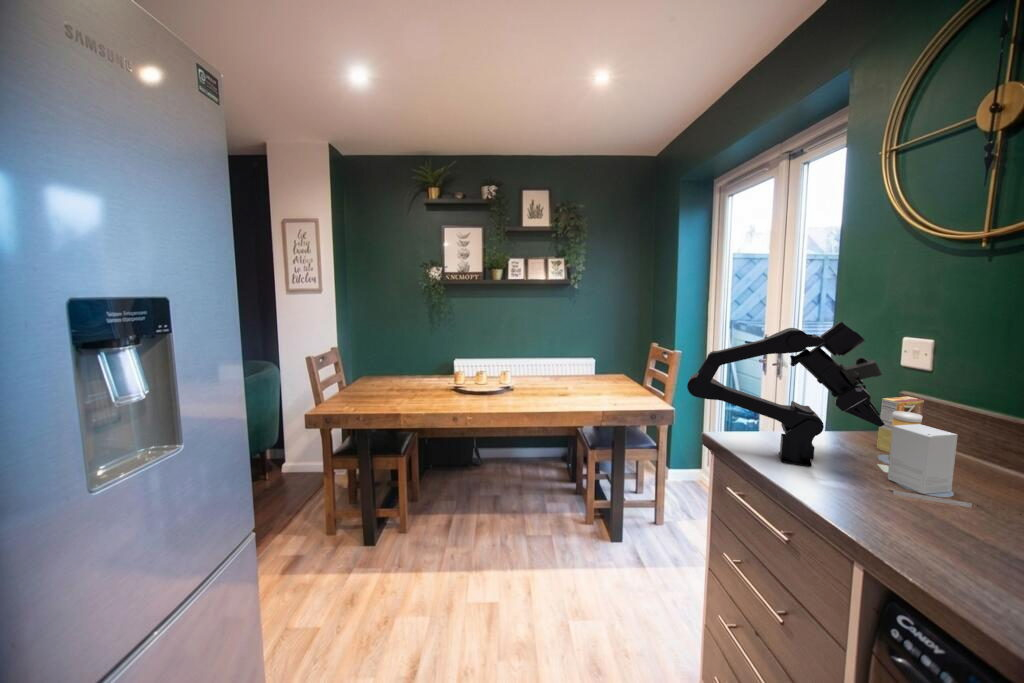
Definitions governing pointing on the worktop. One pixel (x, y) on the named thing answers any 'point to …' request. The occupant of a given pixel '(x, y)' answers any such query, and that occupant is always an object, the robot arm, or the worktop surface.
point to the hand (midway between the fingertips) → (880, 420)
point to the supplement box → (922, 458)
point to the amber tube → (904, 420)
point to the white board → (923, 497)
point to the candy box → (886, 416)
